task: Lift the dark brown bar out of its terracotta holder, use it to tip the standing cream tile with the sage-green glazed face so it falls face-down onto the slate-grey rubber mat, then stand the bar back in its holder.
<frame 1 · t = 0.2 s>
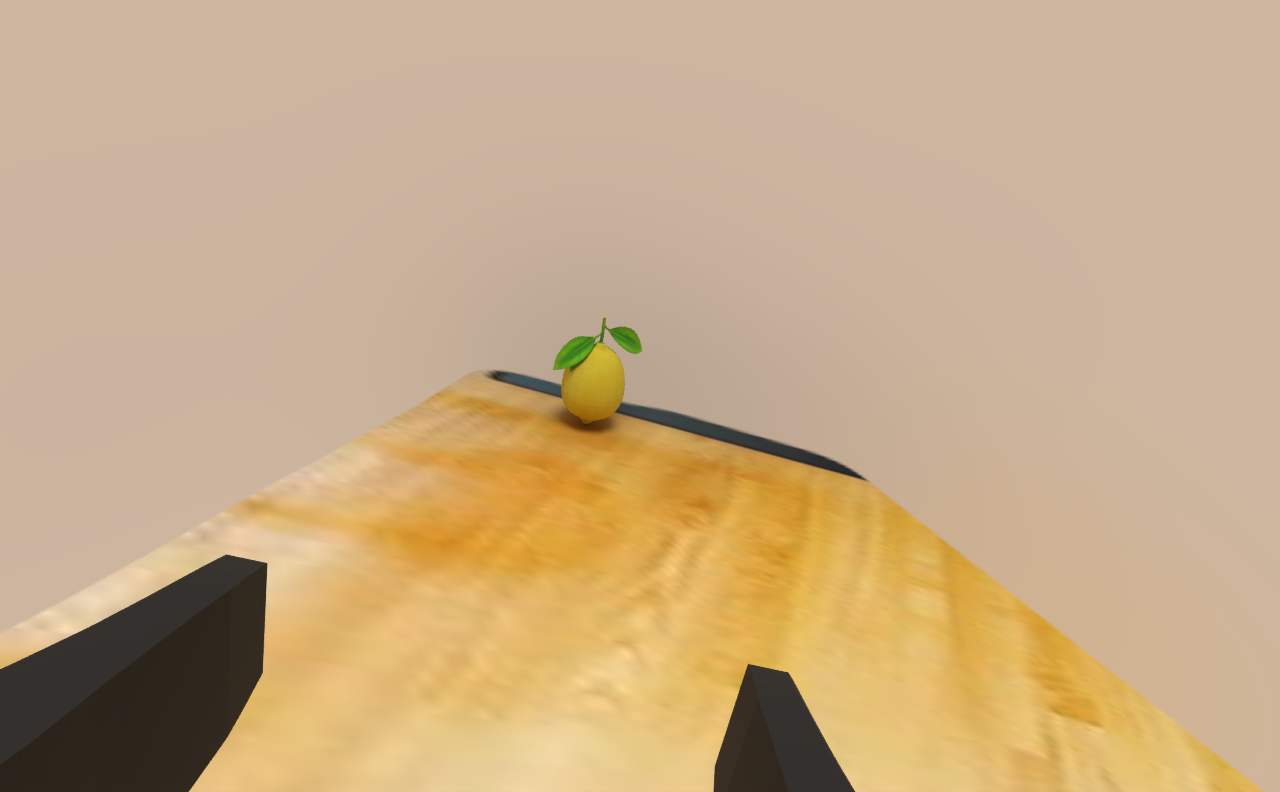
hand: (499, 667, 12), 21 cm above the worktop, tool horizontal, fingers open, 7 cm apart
lemon: (587, 425, 74), on the worktop
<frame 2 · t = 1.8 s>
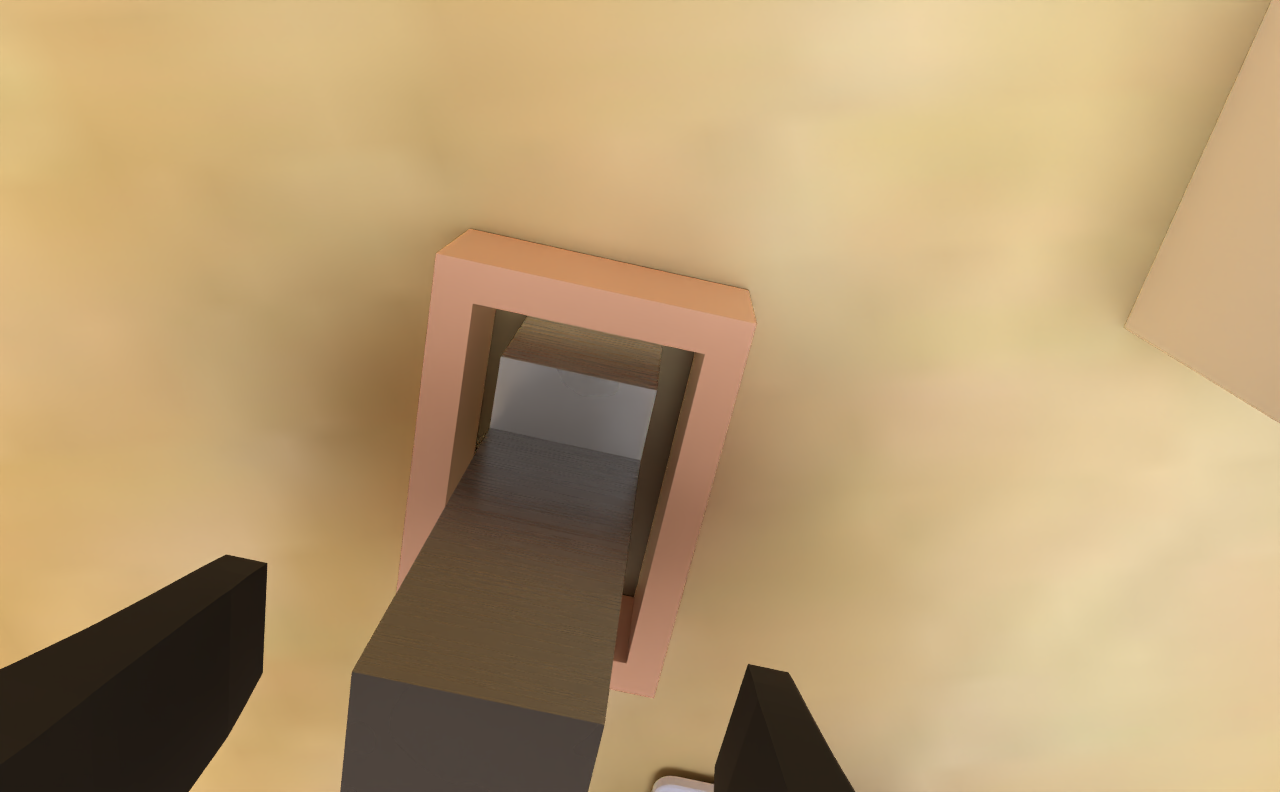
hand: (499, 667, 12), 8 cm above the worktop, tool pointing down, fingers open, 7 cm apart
glazed tile: (1247, 172, 16), on the worktop
pusher holder: (572, 447, 19), on the worktop
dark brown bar: (572, 446, 20), resting in pusher holder
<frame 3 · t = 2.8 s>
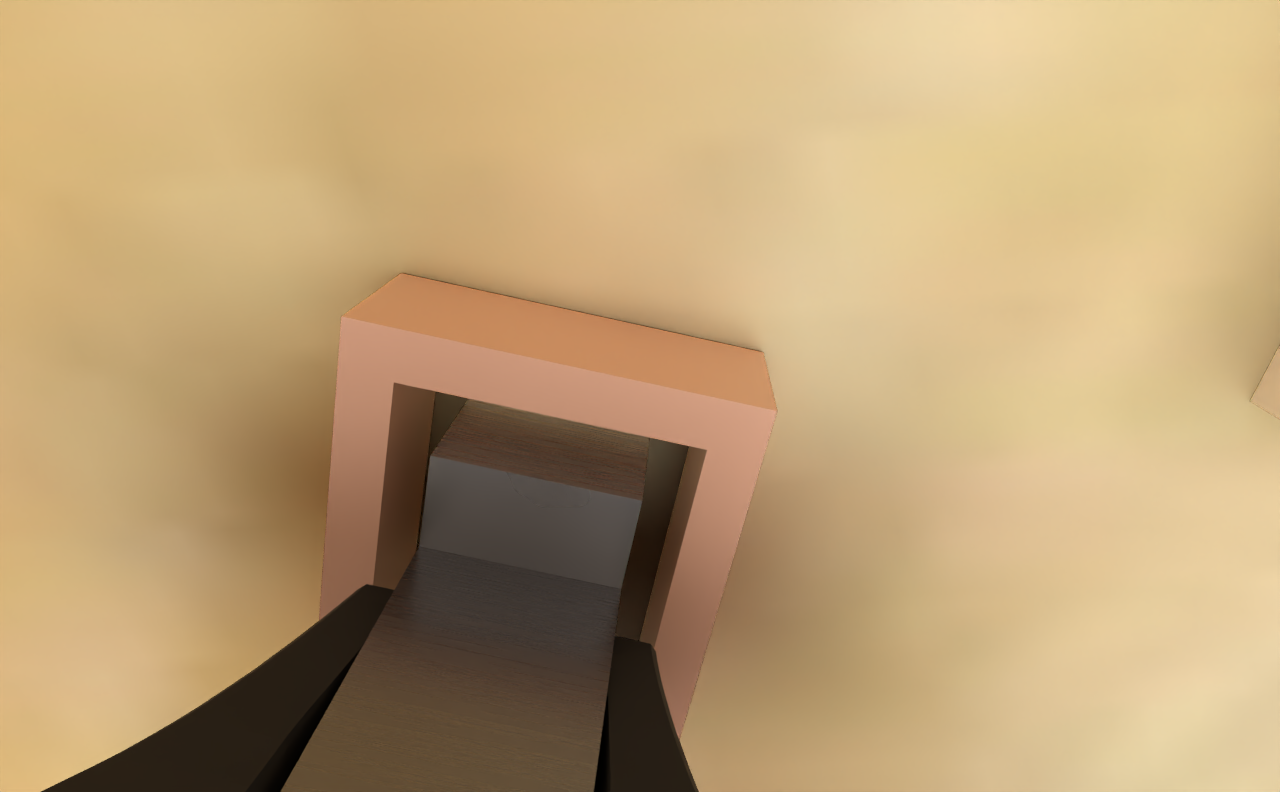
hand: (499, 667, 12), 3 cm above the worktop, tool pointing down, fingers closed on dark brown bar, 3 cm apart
pusher holder: (539, 543, 15), on the worktop
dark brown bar: (539, 543, 15), resting in pusher holder, touching gripper
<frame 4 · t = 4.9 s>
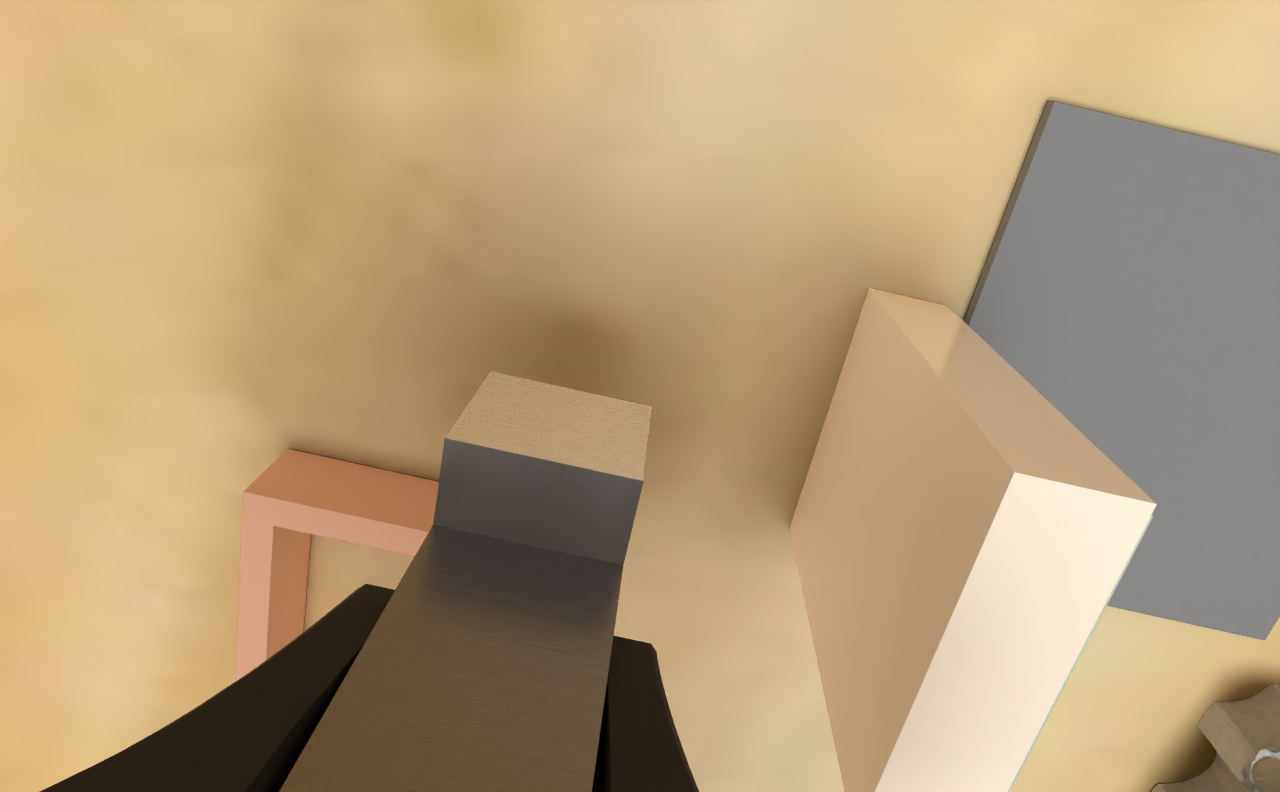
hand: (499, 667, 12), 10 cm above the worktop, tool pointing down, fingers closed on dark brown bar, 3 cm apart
glazed tile: (863, 423, 22), on the worktop
pusher holder: (380, 604, 25), on the worktop
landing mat: (1163, 396, 21), on the worktop
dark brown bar: (544, 529, 16), point 6 cm above the worktop, touching gripper
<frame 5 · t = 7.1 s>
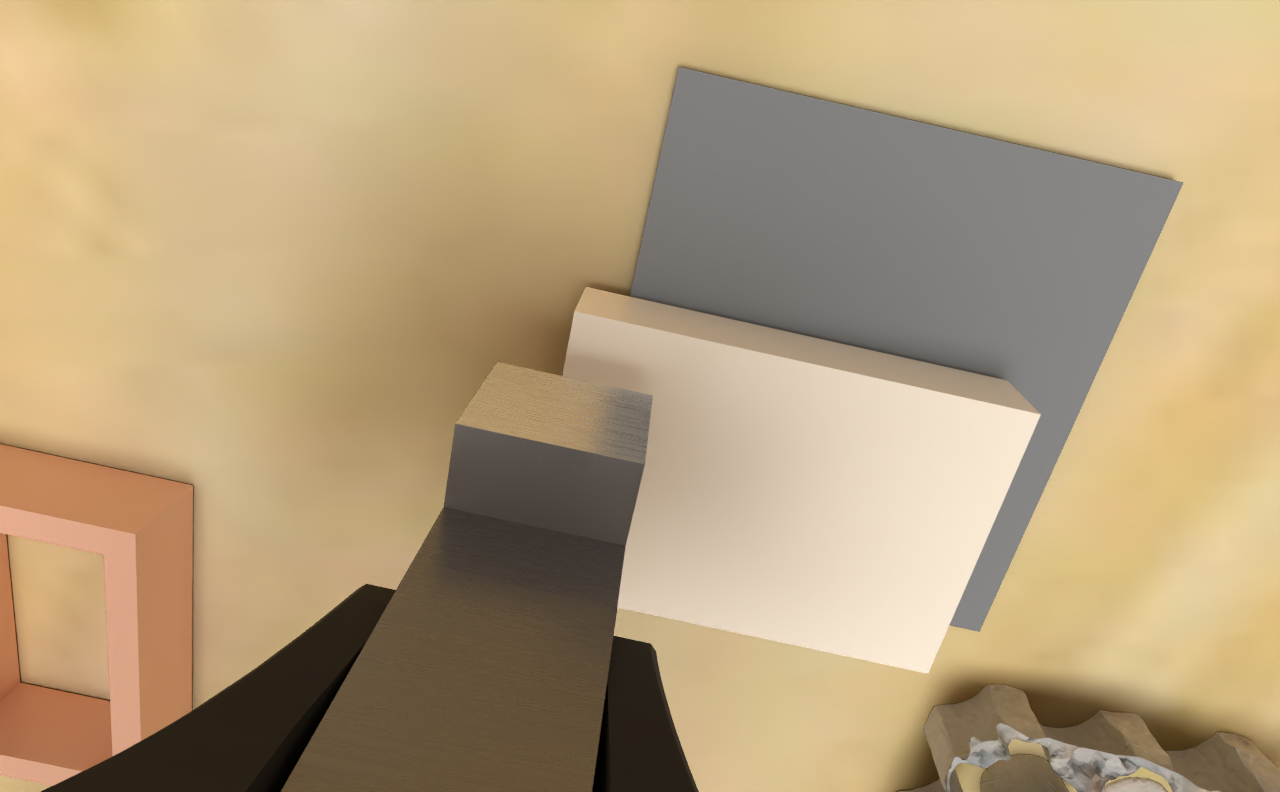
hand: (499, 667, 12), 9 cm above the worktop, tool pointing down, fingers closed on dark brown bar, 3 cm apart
glazed tile: (553, 440, 19), point 2 cm above the worktop, tilted 90°, touching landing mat
pusher holder: (88, 598, 24), on the worktop
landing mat: (844, 377, 20), on the worktop
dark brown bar: (548, 515, 17), point 5 cm above the worktop, touching gripper
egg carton: (1066, 787, 25), on the worktop
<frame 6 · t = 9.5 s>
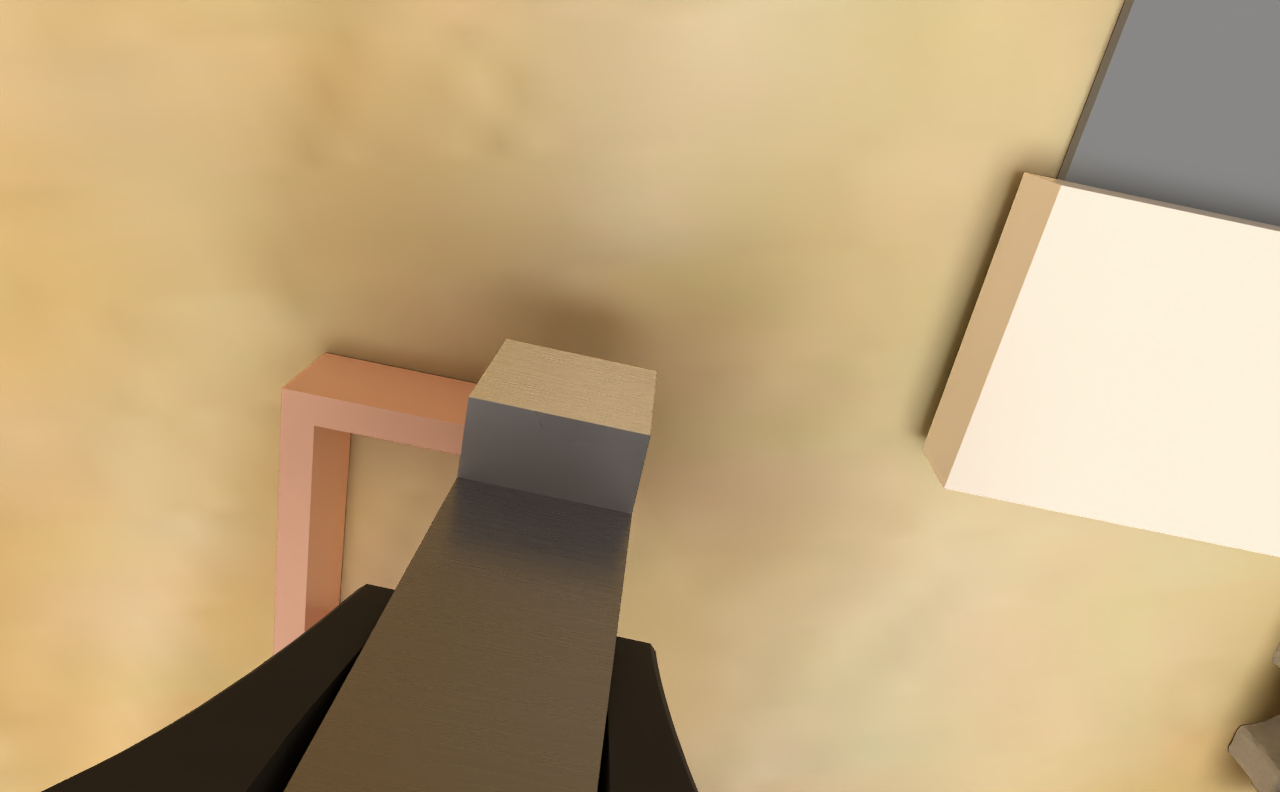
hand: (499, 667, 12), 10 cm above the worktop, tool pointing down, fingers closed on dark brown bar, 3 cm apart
glazed tile: (983, 333, 19), point 2 cm above the worktop, tilted 90°, touching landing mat
pusher holder: (424, 523, 23), on the worktop
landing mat: (1268, 268, 19), on the worktop
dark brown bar: (556, 487, 17), point 5 cm above the worktop, touching gripper
when the fingers open (4 cm above the worktop, at t = 11.3 s): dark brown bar stays where it is, resting in pusher holder.
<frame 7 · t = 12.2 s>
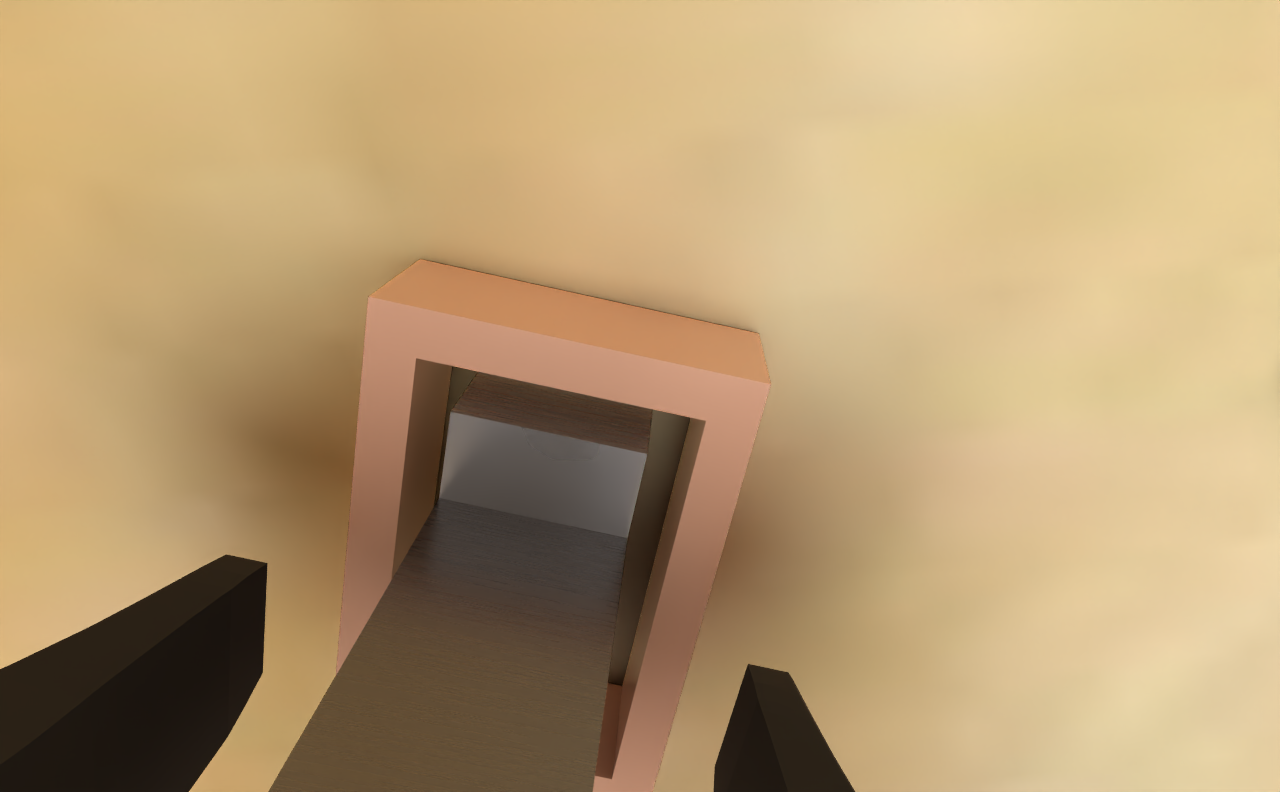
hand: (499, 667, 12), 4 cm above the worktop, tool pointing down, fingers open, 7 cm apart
pusher holder: (548, 515, 16), on the worktop
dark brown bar: (548, 505, 16), resting in pusher holder
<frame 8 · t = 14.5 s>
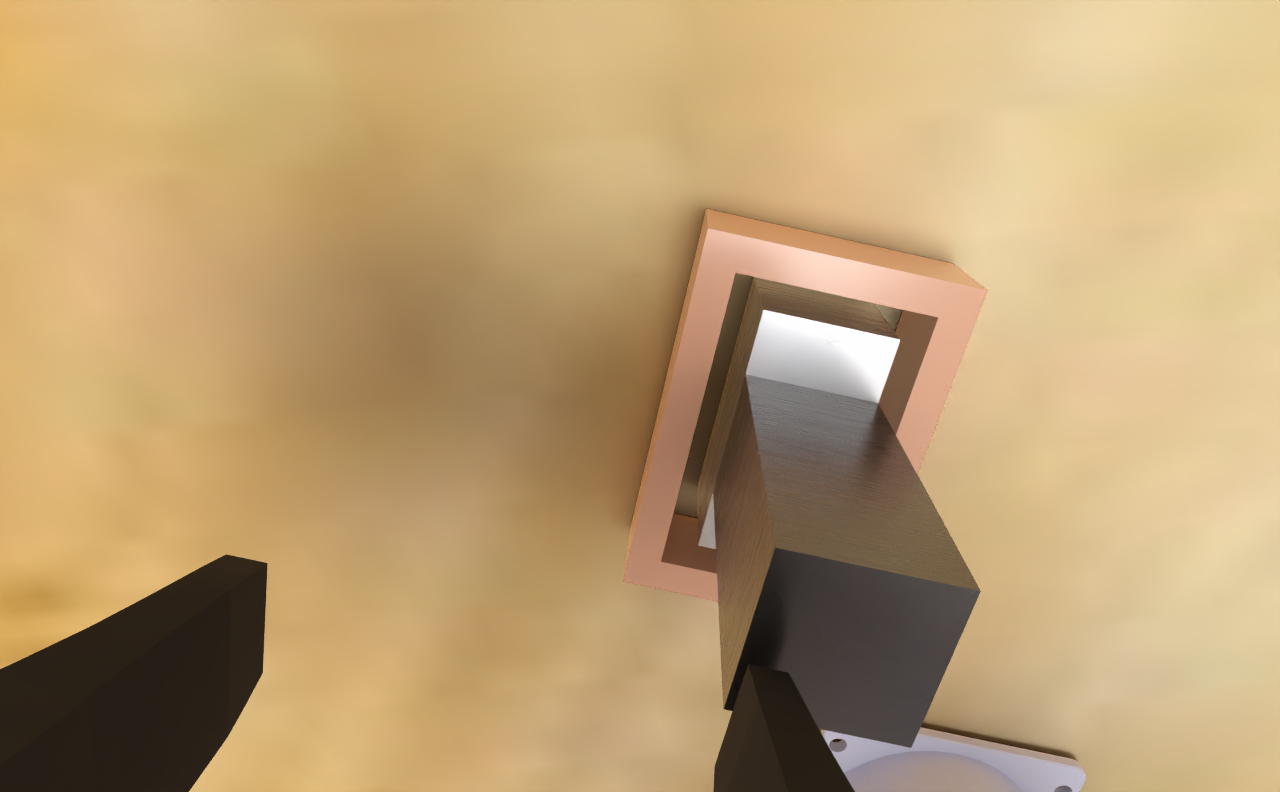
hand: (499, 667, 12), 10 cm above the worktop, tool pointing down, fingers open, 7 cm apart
pusher holder: (779, 406, 22), on the worktop
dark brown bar: (780, 398, 22), resting in pusher holder
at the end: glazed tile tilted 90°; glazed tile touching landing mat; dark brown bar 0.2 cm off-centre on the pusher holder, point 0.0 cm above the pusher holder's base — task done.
